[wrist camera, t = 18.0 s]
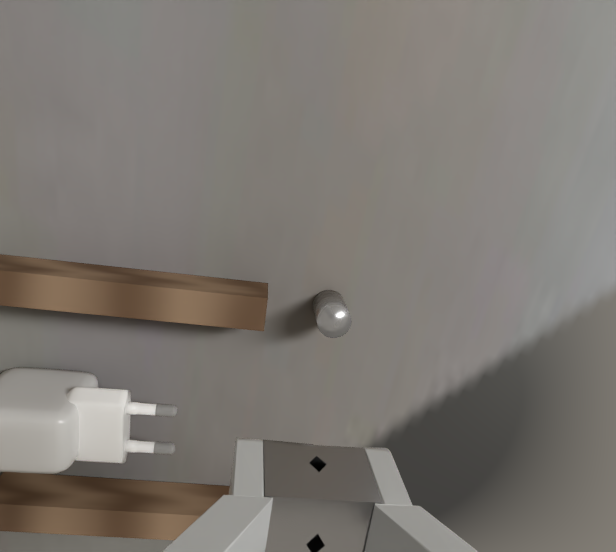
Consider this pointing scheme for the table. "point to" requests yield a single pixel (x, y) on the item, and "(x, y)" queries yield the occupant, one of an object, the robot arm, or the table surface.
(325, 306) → the steel pins
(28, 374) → the power adapter
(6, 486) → the walnut slot
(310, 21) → the table surface
